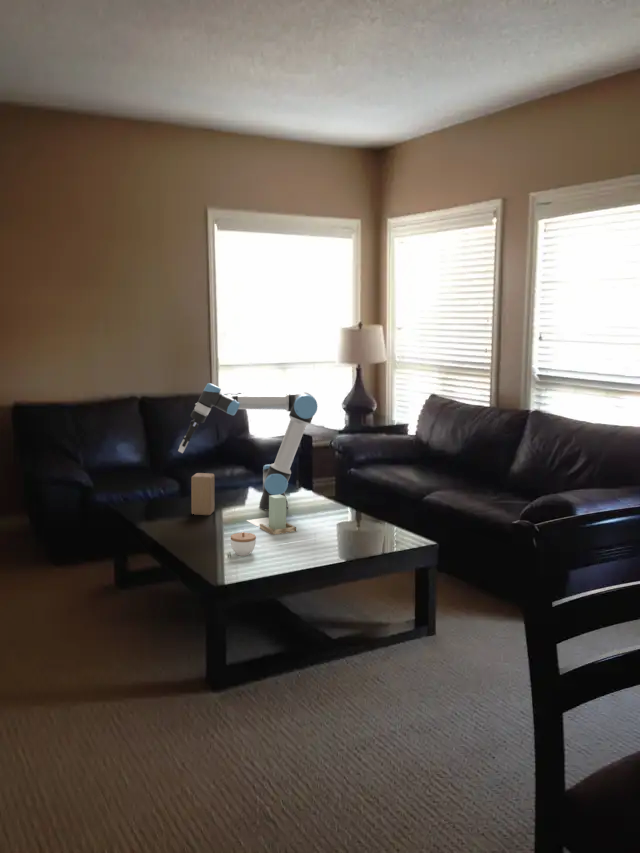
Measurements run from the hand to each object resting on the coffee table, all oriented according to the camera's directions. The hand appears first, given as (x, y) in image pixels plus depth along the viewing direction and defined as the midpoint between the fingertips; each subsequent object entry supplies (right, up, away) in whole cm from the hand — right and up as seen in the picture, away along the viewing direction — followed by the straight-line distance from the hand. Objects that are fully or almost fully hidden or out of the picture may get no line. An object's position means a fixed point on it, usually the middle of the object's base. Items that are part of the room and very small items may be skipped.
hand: (180, 450), depth 374 cm
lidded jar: (+37, -43, -56) cm, 79 cm away
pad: (+41, -36, -7) cm, 55 cm away
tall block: (+49, -37, -20) cm, 65 cm away
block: (+10, -33, +9) cm, 35 cm away
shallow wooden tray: (+49, -38, -20) cm, 65 cm away
